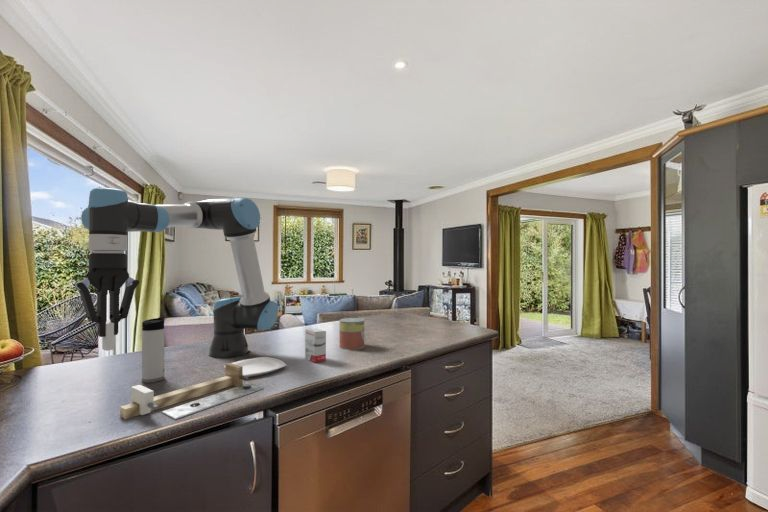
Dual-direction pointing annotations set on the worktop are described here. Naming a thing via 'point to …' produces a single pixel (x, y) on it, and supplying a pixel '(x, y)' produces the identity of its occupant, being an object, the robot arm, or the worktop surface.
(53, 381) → the worktop surface
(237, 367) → the beam
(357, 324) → the canned food
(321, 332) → the ink box
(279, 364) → the plate
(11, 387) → the worktop surface
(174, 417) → the hole plate
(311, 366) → the worktop surface
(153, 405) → the slider
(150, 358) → the travel mug
